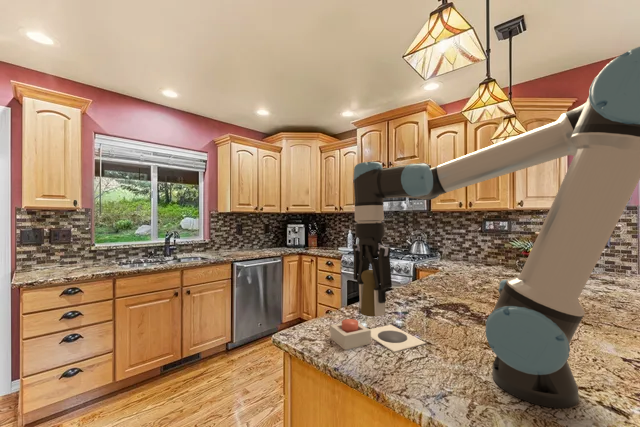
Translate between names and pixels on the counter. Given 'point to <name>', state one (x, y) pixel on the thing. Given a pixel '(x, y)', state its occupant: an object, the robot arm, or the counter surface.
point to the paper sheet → (394, 338)
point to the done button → (349, 325)
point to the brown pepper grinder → (368, 293)
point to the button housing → (350, 336)
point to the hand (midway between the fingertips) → (372, 311)
